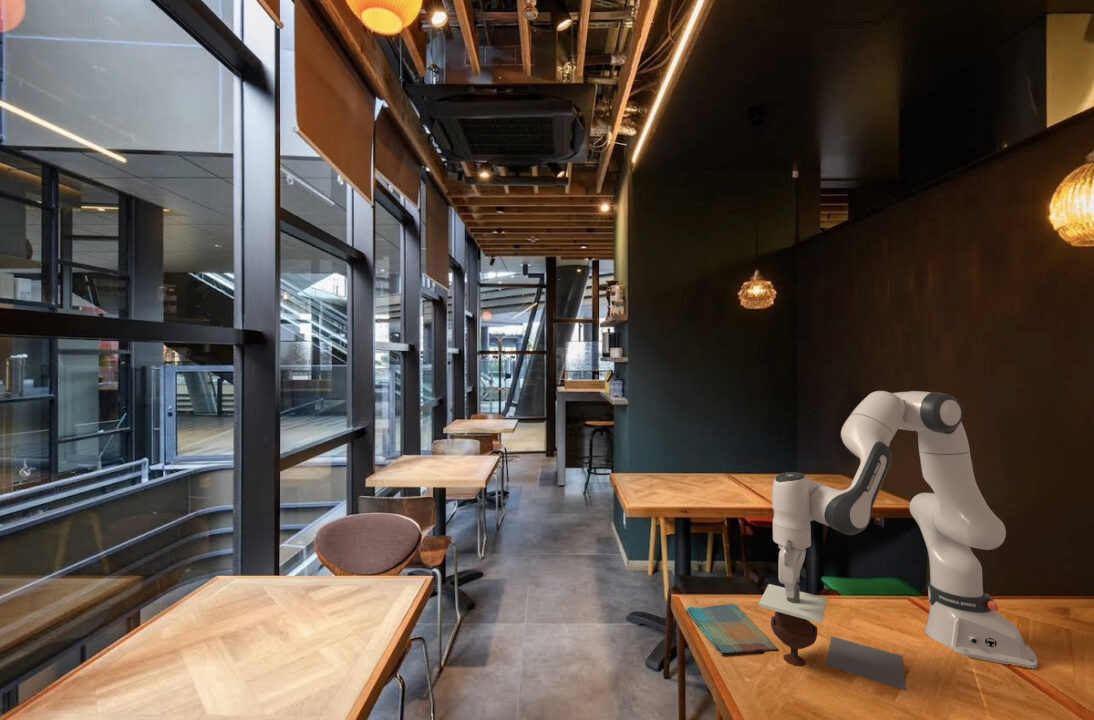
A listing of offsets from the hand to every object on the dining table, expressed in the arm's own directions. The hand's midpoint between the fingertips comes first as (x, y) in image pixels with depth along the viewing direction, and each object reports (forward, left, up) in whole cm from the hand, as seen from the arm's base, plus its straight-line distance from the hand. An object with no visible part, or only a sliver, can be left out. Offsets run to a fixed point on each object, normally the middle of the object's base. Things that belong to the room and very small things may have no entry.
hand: (792, 589), depth 120 cm
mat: (-15, -10, -19) cm, 26 cm away
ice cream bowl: (0, 0, -19) cm, 19 cm away
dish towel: (+18, -6, -20) cm, 27 cm away
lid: (0, 0, -4) cm, 4 cm away
